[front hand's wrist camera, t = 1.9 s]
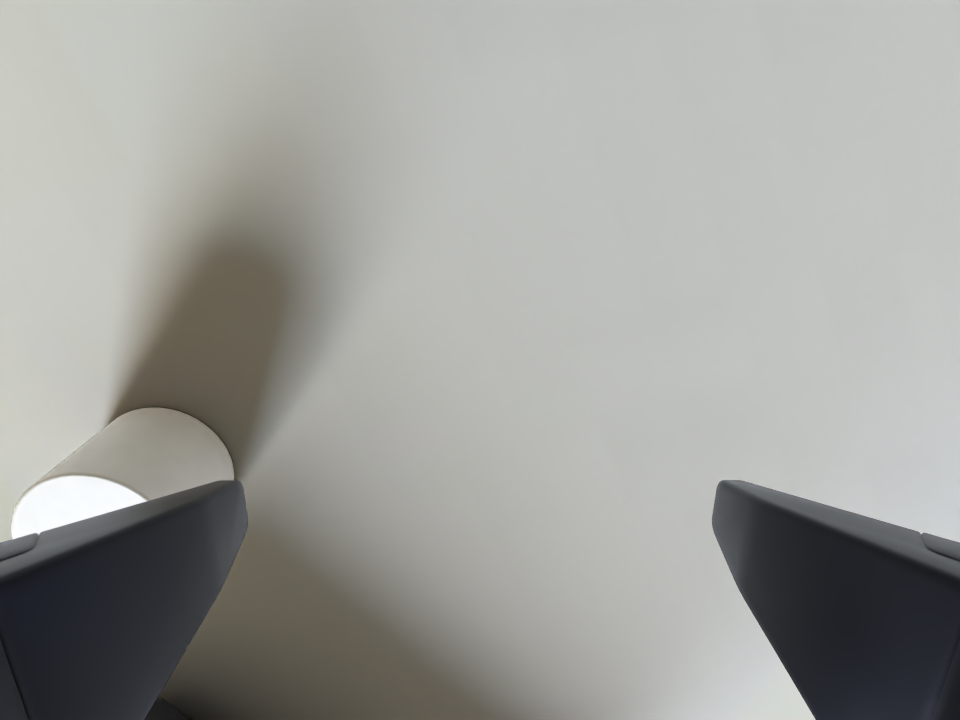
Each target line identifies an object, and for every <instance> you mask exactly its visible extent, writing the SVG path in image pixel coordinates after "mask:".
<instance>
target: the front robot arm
mask: <svg viewBox="0 0 960 720" xmlns="http://www.w3.org/2000/svg"><path fill="white" fill-rule="evenodd" d="M247 526H248V516H247V509H246V503H245V497H244V490H243V486H242V484H241V482H239V481H237V480H220V481H215V482H212V483H208V484H205V485H201V486H198V487H194V488H191V489H187V490H184V491H181V492H177V493H174V494H170V495H167V496H163V497H160V498H156V499H153V500H150V501H146V502H143V503H139V504H136V505H132V506H129V507H125V508H122V509H119V510H115V511H112V512H108V513H105V514H101V515H98V516H94V517H91V518H87V519H84V520H81V521H77V522H74V523H70V524H67V525H63V526H60V527H56V528H53V529H50V530H46V531H43V532H41V533H40V534H39V535H38V534H37V533H33V534H29V535H26V536H23V537H19V538H16V539H12V540H8V541H5V542H1V543H0V720H144V719H145V717H146V716H147V714H148V712H149V711H150V709H151V707H152V706H153V704H154V702H155V701H156V699H157V697H158V695H159V694H160V692H161V690H162V689H163V687H164V685H165V684H166V682H167V680H168V679H169V677H170V675H171V674H172V672H173V670H174V669H175V667H176V665H177V663H178V662H179V660H180V658H181V657H182V655H183V653H184V652H185V650H186V648H187V647H188V645H189V643H190V642H191V640H192V638H193V637H194V635H195V633H196V631H197V630H198V628H199V626H200V625H201V623H202V621H203V620H204V618H205V616H206V615H207V613H208V611H209V610H210V608H211V606H212V605H213V603H214V601H215V599H216V598H217V596H218V594H219V592H220V590H221V588H222V586H223V584H224V582H225V580H226V578H227V575H228V573H229V571H230V568H231V566H232V564H233V562H234V559H235V557H236V555H237V552H238V550H239V548H240V545H241V543H242V541H243V538H244V536H245V534H246V531H247ZM712 526H713V531H714V534H715V536H716V539H717V541H718V543H719V545H720V548H721V550H722V552H723V555H724V557H725V559H726V562H727V564H728V566H729V569H730V571H731V573H732V575H733V578H734V580H735V582H736V584H737V586H738V588H739V591H740V592H741V594H742V596H743V598H744V599H745V601H746V603H747V605H748V606H749V608H750V610H751V611H752V613H753V615H754V616H755V618H756V620H757V621H758V623H759V625H760V626H761V628H762V630H763V632H764V633H765V635H766V637H767V638H768V640H769V642H770V643H771V645H772V647H773V648H774V650H775V652H776V653H777V655H778V657H779V658H780V660H781V662H782V664H783V665H784V667H785V669H786V670H787V672H788V674H789V675H790V677H791V679H792V680H793V682H794V684H795V685H796V687H797V689H798V690H799V692H800V694H801V695H802V697H803V699H804V701H805V702H806V704H807V706H808V707H809V709H810V711H811V712H812V714H813V716H814V717H815V719H816V720H960V543H959V542H955V541H951V540H948V539H944V538H941V537H937V536H934V535H930V534H927V533H923V534H922V535H921V534H920V533H919V532H917V531H914V530H910V529H907V528H904V527H900V526H897V525H893V524H890V523H886V522H883V521H879V520H876V519H872V518H869V517H866V516H862V515H859V514H855V513H852V512H848V511H845V510H841V509H838V508H835V507H831V506H828V505H824V504H821V503H817V502H814V501H810V500H807V499H804V498H800V497H797V496H793V495H790V494H786V493H783V492H779V491H776V490H772V489H769V488H766V487H762V486H759V485H755V484H752V483H748V482H745V481H740V480H723V481H721V482H719V484H718V486H717V490H716V497H715V503H714V509H713V516H712Z"/></svg>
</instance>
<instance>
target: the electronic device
mask: <svg viewBox="0 0 960 720" xmlns="http://www.w3.org/2000/svg"><path fill="white" fill-rule="evenodd" d="M144 720H190V719H188V718H187V717H186V716H185V715H183V714H182V713H181V712H179V711H178V710H177V709H175V708H174V707H173V706H172V705H170V704H169V703H168V702H166V701H165V700H164V699H160V700H158V701H156V702H154V704H153V706H152V707H151V709H150V711H149V712H148V714H147V716H146V717H145V719H144Z"/></svg>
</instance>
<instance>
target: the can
mask: <svg viewBox="0 0 960 720" xmlns="http://www.w3.org/2000/svg"><path fill="white" fill-rule="evenodd" d="M220 480H234V469H233V464H232V460H231V457H230V455H229V453H228V450H227V449H226V447H225V445H224V444H223V442H222V441H221V440H220V438H219V437H218V436H217V435H216V434H215V433H214V432H213V431H212V430H211V429H210V428H209V427H207V426H206V425H205V424H204V423H202V422H200V421H199V420H197V419H196V418H194V417H192V416H190V415H188V414H185V413H182V412H179V411H176V410H172V409H167V408H152V407H151V408H141V409H137V410H132V411H130V412H127V413H125V414H123V415H121V416H119V417H117V418H116V419H115V420H114V421H112V422H111V423H110V424H108V425H107V426H106V427H105V428H103V429H102V430H101V431H100V432H98V433H97V434H96V435H95V436H93V437H92V438H91V439H90V440H88V441H87V442H86V443H85V444H83V445H82V446H81V447H80V448H78V449H77V450H76V451H75V452H73V453H72V454H71V455H70V456H68V457H67V458H66V459H65V460H63V461H62V462H61V463H60V464H58V465H57V466H56V467H55V468H53V469H52V470H51V471H50V472H48V473H47V474H46V475H45V476H43V477H42V478H41V479H40V480H38V481H37V482H36V483H35V484H33V485H32V486H31V487H30V488H28V489H27V490H26V492H25V493H24V494H23V495H22V496H21V498H20V499H19V501H18V502H17V505H16V507H15V510H14V512H13V517H12V522H11V532H12V539H16V538H19V537H23V536H26V535H29V534H33V533H37V534H38V535H39V534H40V533H41V532H43V531H46V530H50V529H53V528H56V527H60V526H63V525H67V524H70V523H74V522H77V521H81V520H84V519H87V518H91V517H94V516H98V515H101V514H105V513H108V512H112V511H115V510H119V509H122V508H125V507H129V506H132V505H136V504H139V503H143V502H146V501H150V500H153V499H156V498H160V497H163V496H167V495H170V494H174V493H177V492H181V491H184V490H187V489H191V488H194V487H198V486H201V485H205V484H208V483H212V482H215V481H220Z"/></svg>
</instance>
